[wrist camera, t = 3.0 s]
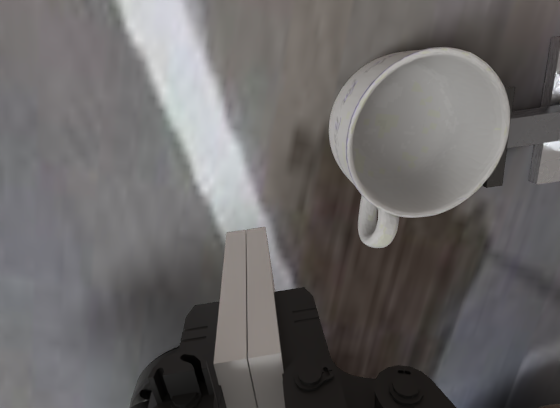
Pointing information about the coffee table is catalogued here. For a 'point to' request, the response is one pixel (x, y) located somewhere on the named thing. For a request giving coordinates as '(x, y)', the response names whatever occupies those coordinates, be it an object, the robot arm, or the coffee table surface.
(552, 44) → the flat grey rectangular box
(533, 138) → the hammer
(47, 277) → the coffee table surface
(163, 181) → the coffee table surface
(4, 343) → the coffee table surface
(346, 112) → the teacup
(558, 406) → the jug
